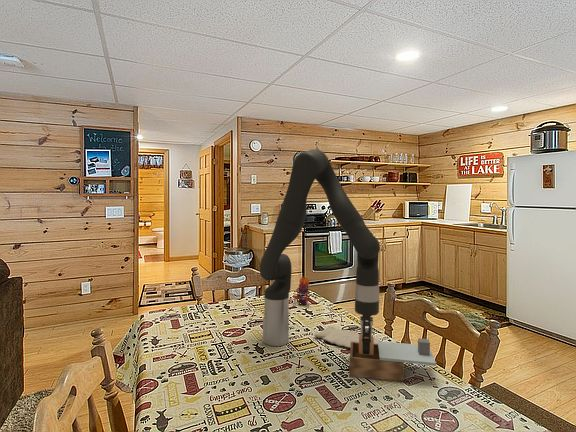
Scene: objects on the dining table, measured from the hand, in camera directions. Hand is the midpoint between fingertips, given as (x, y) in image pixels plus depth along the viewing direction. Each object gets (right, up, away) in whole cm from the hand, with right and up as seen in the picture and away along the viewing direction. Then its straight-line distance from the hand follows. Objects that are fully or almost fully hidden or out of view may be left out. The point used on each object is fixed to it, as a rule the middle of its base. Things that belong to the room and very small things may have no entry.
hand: (365, 349), depth 112 cm
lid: (+12, 0, -2) cm, 12 cm away
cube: (0, 0, 0) cm, 0 cm away
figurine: (-18, -2, +63) cm, 66 cm away
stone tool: (-2, -6, +20) cm, 21 cm away
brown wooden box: (+3, -6, 0) cm, 7 cm away
